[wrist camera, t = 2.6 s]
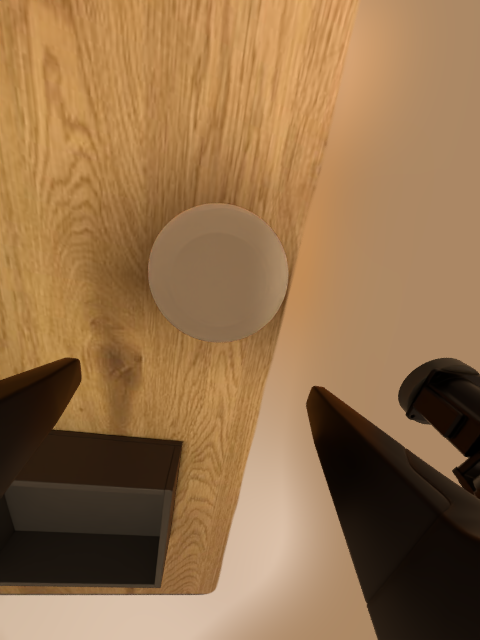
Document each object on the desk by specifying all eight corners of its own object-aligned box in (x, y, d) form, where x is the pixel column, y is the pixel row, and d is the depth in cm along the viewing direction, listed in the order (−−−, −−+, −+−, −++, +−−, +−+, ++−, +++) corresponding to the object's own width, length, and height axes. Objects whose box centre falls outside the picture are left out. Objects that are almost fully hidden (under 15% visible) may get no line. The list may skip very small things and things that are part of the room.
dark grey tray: (182, 441, 28) (172, 490, 23) (170, 534, 35) (160, 588, 30) (-18, 423, 25) (-80, 474, 20) (13, 528, 33) (-27, 585, 27)
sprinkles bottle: (208, 205, 18) (171, 167, 6) (260, 230, 19) (319, 244, 7) (188, 259, 20) (126, 318, 7) (237, 280, 21) (253, 364, 8)
